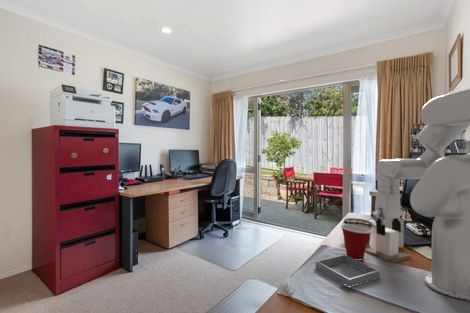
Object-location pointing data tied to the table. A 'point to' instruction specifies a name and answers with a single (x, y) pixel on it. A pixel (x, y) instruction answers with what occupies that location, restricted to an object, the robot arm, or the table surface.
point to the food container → (359, 224)
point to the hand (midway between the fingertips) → (388, 233)
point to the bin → (323, 264)
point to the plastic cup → (355, 240)
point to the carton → (387, 242)
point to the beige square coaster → (391, 259)
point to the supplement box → (401, 235)
